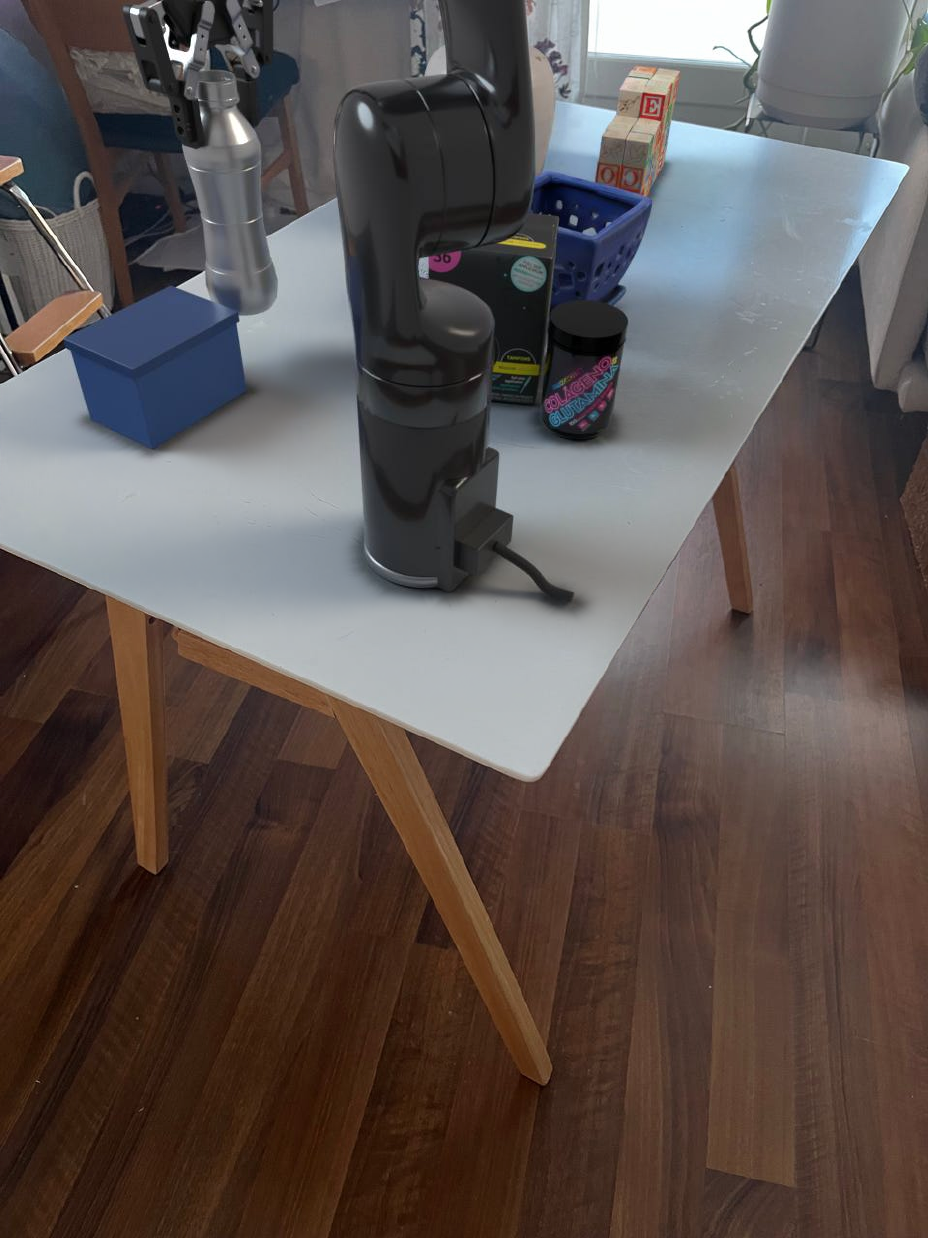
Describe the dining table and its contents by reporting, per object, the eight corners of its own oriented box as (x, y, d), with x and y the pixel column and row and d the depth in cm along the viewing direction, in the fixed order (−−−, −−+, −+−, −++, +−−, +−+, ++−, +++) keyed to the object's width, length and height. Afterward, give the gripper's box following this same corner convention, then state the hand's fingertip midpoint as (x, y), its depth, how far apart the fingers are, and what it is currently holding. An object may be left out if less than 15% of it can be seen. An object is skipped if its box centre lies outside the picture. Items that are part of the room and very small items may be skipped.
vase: (542, 197, 125) (560, -3, 109) (547, 248, 114) (568, 33, 98) (424, 192, 125) (424, -9, 109) (417, 242, 114) (417, 26, 98)
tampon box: (424, 394, 90) (424, 243, 79) (439, 347, 96) (442, 202, 86) (538, 407, 89) (553, 255, 78) (545, 358, 95) (561, 212, 85)
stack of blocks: (637, 218, 121) (654, 115, 112) (590, 211, 122) (603, 108, 114) (664, 163, 136) (681, 68, 127) (622, 157, 137) (635, 62, 128)
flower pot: (582, 354, 96) (598, 239, 88) (474, 317, 101) (479, 205, 92) (638, 306, 104) (657, 196, 96) (534, 273, 109) (544, 166, 100)
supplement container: (524, 424, 87) (534, 319, 79) (563, 394, 90) (576, 292, 83) (585, 451, 84) (602, 345, 76) (624, 419, 88) (643, 316, 80)
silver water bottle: (267, 328, 87) (237, 91, 73) (198, 319, 88) (156, 83, 74) (290, 297, 92) (266, 68, 78) (224, 289, 92) (189, 61, 78)
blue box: (250, 390, 89) (238, 311, 83) (152, 451, 82) (132, 368, 76) (186, 363, 92) (171, 284, 86) (87, 419, 85) (62, 338, 79)
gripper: (146, -98, 61) (191, 170, 73) (291, -120, 70) (310, 123, 82) (69, -112, 64) (124, 149, 76) (217, -132, 73) (246, 105, 85)
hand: (220, 134), depth 79 cm, fingers closed on silver water bottle, 6 cm apart
